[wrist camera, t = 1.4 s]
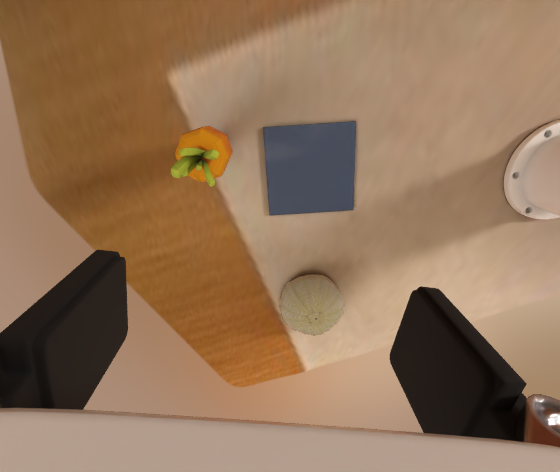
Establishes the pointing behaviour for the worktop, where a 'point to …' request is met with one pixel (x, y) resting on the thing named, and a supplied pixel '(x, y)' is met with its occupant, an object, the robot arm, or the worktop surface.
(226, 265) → the worktop surface
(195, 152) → the carrot
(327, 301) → the sea urchin shell
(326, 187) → the napkin
